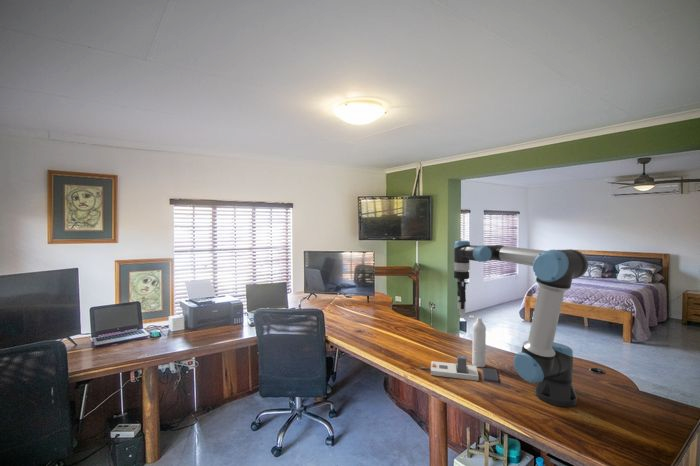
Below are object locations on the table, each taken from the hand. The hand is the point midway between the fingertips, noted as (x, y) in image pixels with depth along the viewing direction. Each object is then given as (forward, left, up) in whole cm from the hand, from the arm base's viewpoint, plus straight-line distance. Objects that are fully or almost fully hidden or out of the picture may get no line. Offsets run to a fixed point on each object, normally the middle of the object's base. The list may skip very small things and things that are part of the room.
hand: (461, 311), depth 174 cm
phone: (-13, +7, -29) cm, 33 cm away
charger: (0, +8, -29) cm, 30 cm away
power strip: (+6, +8, -29) cm, 30 cm away
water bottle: (-8, -6, -29) cm, 31 cm away
